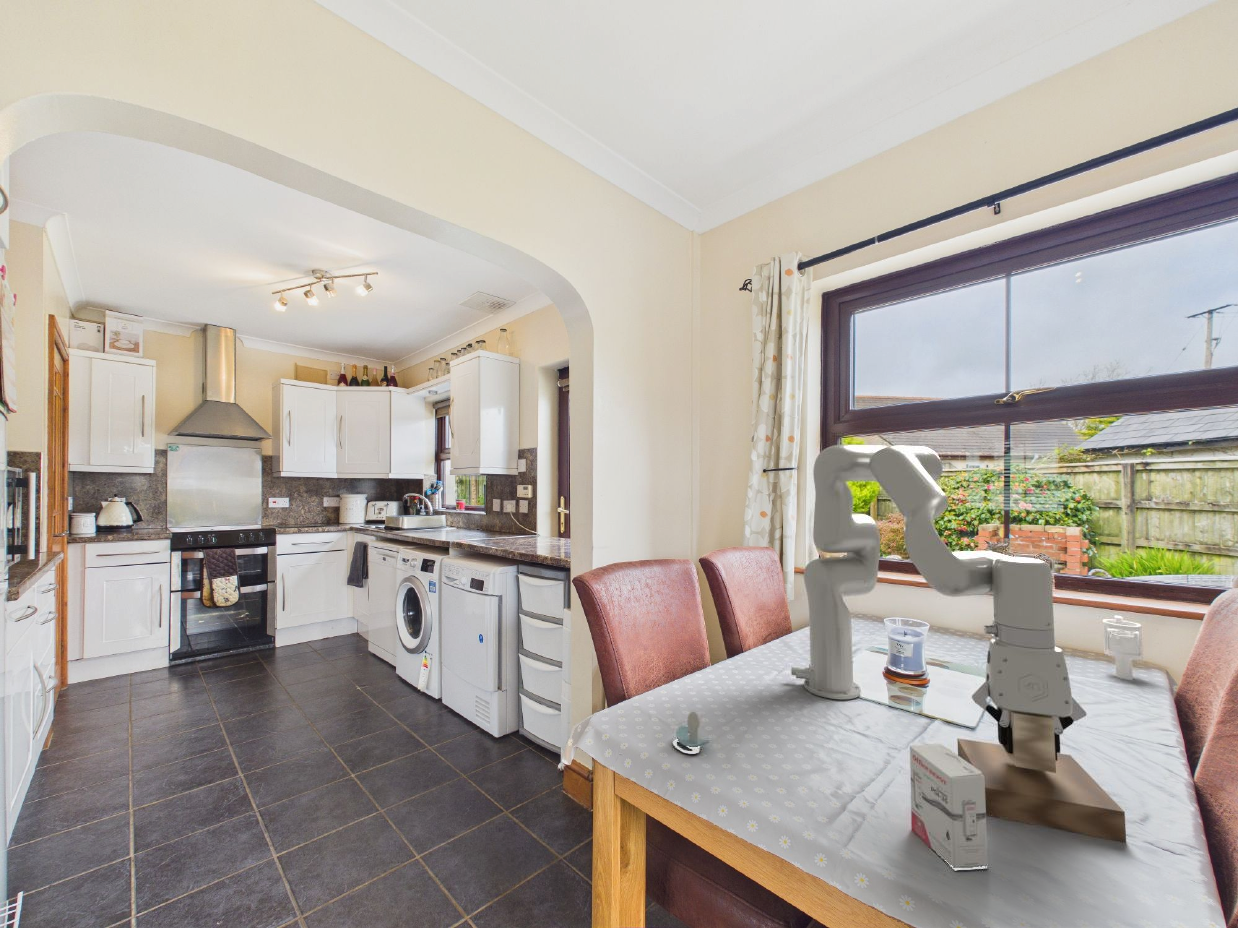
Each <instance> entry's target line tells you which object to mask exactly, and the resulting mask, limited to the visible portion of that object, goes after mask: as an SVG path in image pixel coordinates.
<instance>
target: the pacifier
mask: <svg viewBox="0 0 1238 928" xmlns="http://www.w3.org/2000/svg"><path fill="white" fill-rule="evenodd" d="M686 721H687V725H681V726H679V727H678V728H677V730H676V731H675V735H676V738H677V739H678V741H679V743H680V744H681V745H683V746H684V747H685V746H689V747H698V746H701V747H702V746H705V745H707V744H710V742H711V740H710V739H703V738H702V739H700V737H699V735H698V732H699V731H698V730H699V728H700V727H701V726H700V725H701V718H700V716H699V714H698V713H697V712H695V711H691V712H689V714H688V716H687V720H686Z"/></svg>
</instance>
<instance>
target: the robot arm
mask: <svg viewBox="0 0 1238 928" xmlns="http://www.w3.org/2000/svg"><path fill="white" fill-rule="evenodd" d="M943 466H944V465H943V462H942V460H941V458H940V457H939V455H938V454H937V452H935V451H934V450H932V449H931V448H929V447H927V446H926V447H925V446H919V445H918V446H917V445H915V446H913V445H891V446H890V445H877V444H874V445H872V444H870V445H869V444H848V443H847V444H835V445H831V446H829V447H826V448H824V449H823V450H822V451H820V452H819V454H818V455H817V456H816V459H815V460H814V465H813V473H812V474H813V483H814V489H815V500H814V510H813V511H814V513H813V526H812V527H813V529H812V530H813V531H812V538H813V539H812V540H813V544H814V546H815V547H816V549H817V550H819V551H820V552H822V553H828V554H842V553H843V554H845V553H846V556H834V557H833V556H831V557H820V558H816V559H813V560H811V561H810V562H808V563H807V564H806V566H805V567H804V571H803V582H804V586H805V587H804V588H805V590H806V591H805V592H806V596H807V602H808V620H809V621H808V622H809V625H808V627H809V628H808V629H809V657H810V658H809V662H810V664H808V667H806V666H805V667H804V668H800V667H796V666H794V667H793V666H791V668H790V669H791V676H795V678H796V679H800V680H802V679H803V685H804V689H805V690H806V691H807V692H809V693H811V694H813V695H816V696H819V697H821V698H825V699H832V700H845V701H846V700H853V699H856V698H858V697H860V696H861V694H860V693H862V691H861V690H862V689H861V687H860V685H858V684H857V683H856V682H854V665H853V664H854V663H853V662H854V661H853V658H854V657H853V626H852V616H851V612H850V610H849V608H848V607H847V605H846V603H845V601H844V599H843V598H846V597H852V596H853V597H856V596H857V597H858V596H864V595H867V594H869V593H871V592H872V591H873V590H874V589H875V587H876V585H877V582H878V577H879V575H878V574H879V562H880V548H881V534H880V530H879V527H878V525H877V522H876V521H875V520H874V519H873V517H871V516H870V515H867V514H865V513H861V512H860V513H859V512H856V513H854V512H853V510H854V509H853V508H854V496H853V492H852V491H851V488H850V487H849V485H848V483H847V482H876V483H878V485H879V486H880V487H881V488H882V490H883V491H884V493H885V494H886V496H887V497H888V498H889V499H890V500H891V502H892V504H893V505H894V506H895V508H896V509H897V510H898V512H899V513H900V515H901V516H902V518H903V519H904V526H903V538H904V539H903V540H904V545H905V550H906V554H907V555H908V557H909V560H910V561H911V562H912V563H913V564H912V565H914V566H915V568H916V569H917V571H918V572H919V573H920V575H921V576H922V578H923V580H925V582H926V583H927V584H928V585H929V586H930V587H931V588H932V589H933V590H935V591H936V592H937V593H939V594H941V595H943V596H946V597H950V598H951V597H953V598H957V597H959V598H960V597H969V596H987V595H992V597H993V598H992V600H993V603H992V604H993V620H992V623H991V624H989V625H984V626H983V633H984V634H986V635H991V636H993V637H994V638H991V639H990V641H989V645H988V651H987V656H986V666H985V681H984V683H982V685H980V687H978V689H977V690H975V692H974V693H973V694H972V695H971V699H972V700H973V702H974V703H975V704H976V705H978V706H979V707H980V708H982V709H983V710H984V711H986V712H987V713H988V715H990V717H992V718H993V719H994V720H995V721H996V722H997V739H998V743H999V745H1003V747H1004V748H1005V750H1006V751H1007V752H1008V753H1010V754H1013V742H1012V728H1011V727H1010V723H1009V722H1010V719H1011V711H1015V712H1022V713H1030V714H1037V715H1045V716H1051V717H1052V718H1053V719H1054V739H1055V760H1056V761H1057V753H1060V754H1061V737H1060V735H1063V734H1064V730H1066V729H1067V728H1069V727H1070V726H1072V725H1073V724H1074V722H1077V721H1079V720H1081V719H1083V718H1085V717H1086V716H1087V712H1086V710H1084V708H1083V707H1082V705H1080V704H1079V703H1078V702H1077V700H1076V699H1075V698H1074V697H1073V696H1072V688H1071V682H1070V677H1069V671H1068V667H1067V662H1066V659H1065V655H1064V652H1063V649H1062V648H1059V647H1057V646H1056V642H1055V639H1056V638H1055V619H1054V599H1053V598H1054V596H1053V577H1052V576H1053V575H1052V569H1051V566H1050V565H1049V563H1048V562H1047V561H1044V560H1042V559H1039V558H1032V557H1027V556H1026V557H1024V556H1009V555H1007V554H1003V553H998V552H995V551H988V550H965V551H964V550H963V551H952V550H951V549H950V548H949V547H948V546H947V545H946V543H945V542H944V540H943V539H942V537H941V536H940V535H939V533H938V532H937V529H936V528H935V524H934V521H935V520H936V519H937V518H939V517H940V516H941V515H942V514H944V513H945V511H946V510H947V508H948V506H949V497H948V495H947V494H945V492H944V491H943V490H942V489H941V488H940V486H939V485H938V484H937V482H938V480H939V479H940V478H941V476H942V475H943ZM859 695H860V696H859ZM988 698H990V699H991V702H992V703H993V704H994V705H995V706H996V707H994V705H992V704H991V703H990V702H988V701H987V699H988Z"/></svg>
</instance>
